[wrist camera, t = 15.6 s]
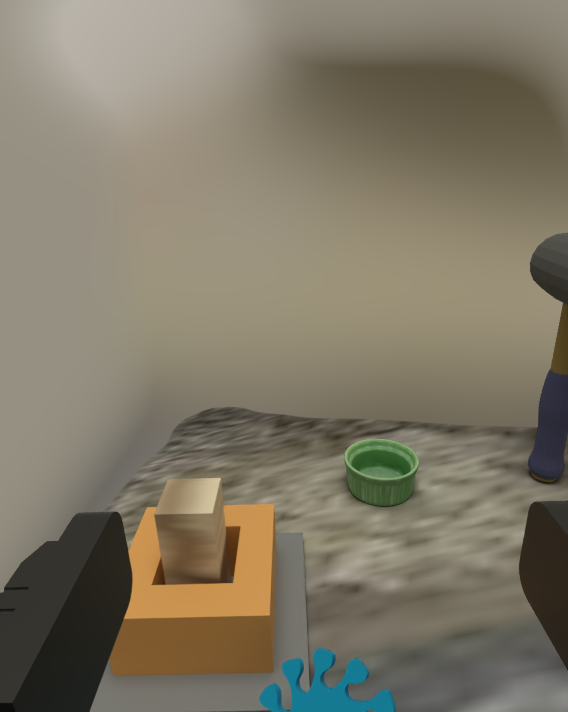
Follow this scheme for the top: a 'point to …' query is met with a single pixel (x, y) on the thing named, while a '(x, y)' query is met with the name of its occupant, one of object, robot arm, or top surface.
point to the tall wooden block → (193, 532)
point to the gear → (325, 689)
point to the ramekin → (381, 471)
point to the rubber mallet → (553, 364)
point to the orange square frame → (211, 625)
